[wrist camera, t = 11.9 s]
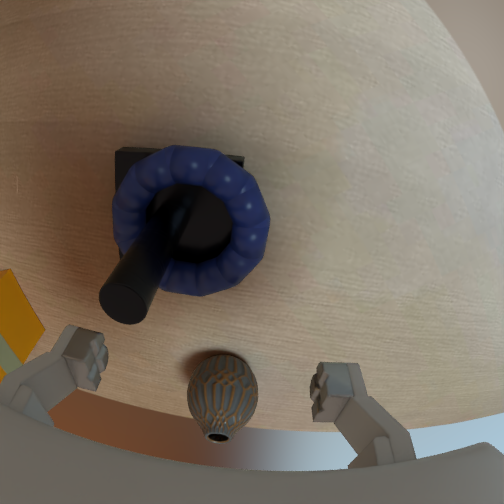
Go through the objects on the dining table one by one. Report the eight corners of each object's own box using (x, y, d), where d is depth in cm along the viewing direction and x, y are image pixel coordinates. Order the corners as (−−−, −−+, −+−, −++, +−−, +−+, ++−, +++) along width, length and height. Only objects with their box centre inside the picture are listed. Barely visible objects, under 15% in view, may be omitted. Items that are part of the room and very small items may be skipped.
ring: (121, 138, 19) (105, 144, 17) (280, 155, 20) (283, 163, 17) (124, 271, 24) (113, 288, 22) (255, 291, 25) (254, 311, 23)
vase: (191, 341, 30) (174, 415, 22) (261, 347, 30) (260, 423, 22) (195, 382, 33) (183, 449, 26) (255, 387, 33) (254, 455, 26)
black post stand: (122, 146, 21) (25, 203, 11) (244, 156, 21) (230, 224, 11) (126, 253, 25) (63, 351, 15) (231, 267, 25) (215, 382, 15)
